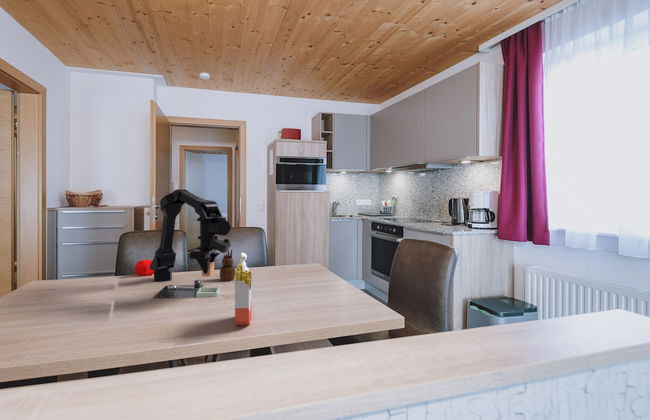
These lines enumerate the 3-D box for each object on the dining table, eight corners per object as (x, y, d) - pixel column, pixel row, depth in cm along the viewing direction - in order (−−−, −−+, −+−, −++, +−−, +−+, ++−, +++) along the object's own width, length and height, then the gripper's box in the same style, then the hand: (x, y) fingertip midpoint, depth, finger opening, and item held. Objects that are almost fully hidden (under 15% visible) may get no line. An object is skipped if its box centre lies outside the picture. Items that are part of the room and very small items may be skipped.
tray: (196, 299, 131) (196, 293, 131) (200, 293, 138) (200, 287, 138) (217, 298, 132) (216, 292, 132) (219, 293, 140) (219, 287, 140)
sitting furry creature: (231, 275, 169) (230, 251, 168) (248, 273, 172) (248, 250, 171) (231, 279, 160) (231, 254, 159) (250, 278, 163) (250, 253, 162)
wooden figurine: (237, 280, 159) (237, 248, 158) (232, 284, 153) (232, 250, 152) (223, 280, 160) (222, 248, 159) (218, 283, 154) (217, 250, 153)
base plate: (151, 301, 129) (151, 298, 129) (165, 288, 146) (165, 285, 146) (195, 299, 131) (195, 296, 131) (204, 286, 148) (204, 284, 148)
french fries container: (253, 315, 115) (252, 262, 114) (250, 328, 105) (250, 270, 104) (239, 315, 115) (238, 263, 114) (234, 329, 104) (234, 270, 103)
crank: (165, 289, 140) (165, 280, 140) (170, 286, 144) (170, 278, 144) (198, 290, 139) (198, 281, 139) (202, 288, 142) (202, 279, 142)
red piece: (158, 275, 167) (157, 260, 166) (142, 279, 160) (141, 263, 159) (148, 273, 171) (148, 258, 170) (132, 276, 164) (132, 260, 164)
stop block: (201, 276, 133) (201, 263, 133) (205, 274, 137) (205, 261, 136) (210, 276, 133) (210, 264, 133) (214, 274, 136) (214, 262, 136)
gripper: (217, 237, 124) (217, 279, 125) (236, 230, 142) (236, 267, 143) (188, 236, 125) (188, 278, 126) (210, 230, 143) (210, 266, 144)
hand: (207, 272), depth 135 cm, fingers closed on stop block, 3 cm apart
